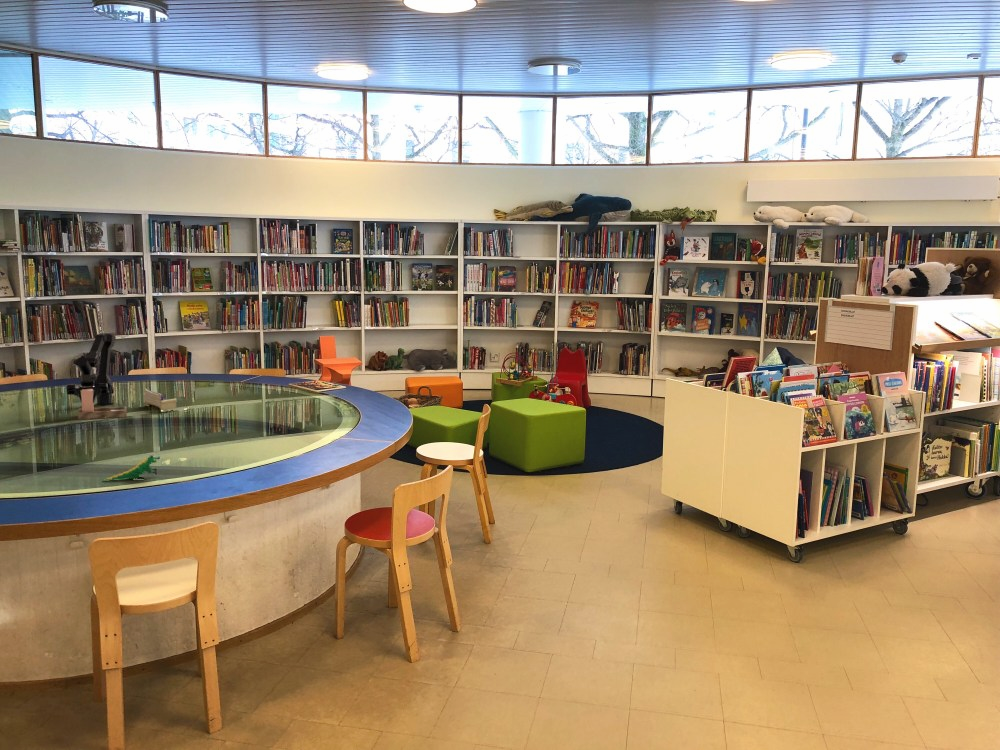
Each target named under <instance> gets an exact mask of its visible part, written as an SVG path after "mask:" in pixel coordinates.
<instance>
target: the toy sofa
mask: <svg viewBox="0 0 1000 750" xmlns="http://www.w3.org/2000/svg"><path fill="white" fill-rule="evenodd" d="M143 391H144V394H143V398H144V402H143V403H144V405H145V406H147V405H155V407H158V408H159V410H160V411H161V410H167V409H172V408H176V409H177V400H178V399H177V398H170V399H166V398H164V394H162V393H160V392H155V391H153V390H150V389H148V388H144V389H143ZM144 405H143V406H144ZM145 406H144V407H145ZM147 407H148V406H147Z"/></svg>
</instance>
